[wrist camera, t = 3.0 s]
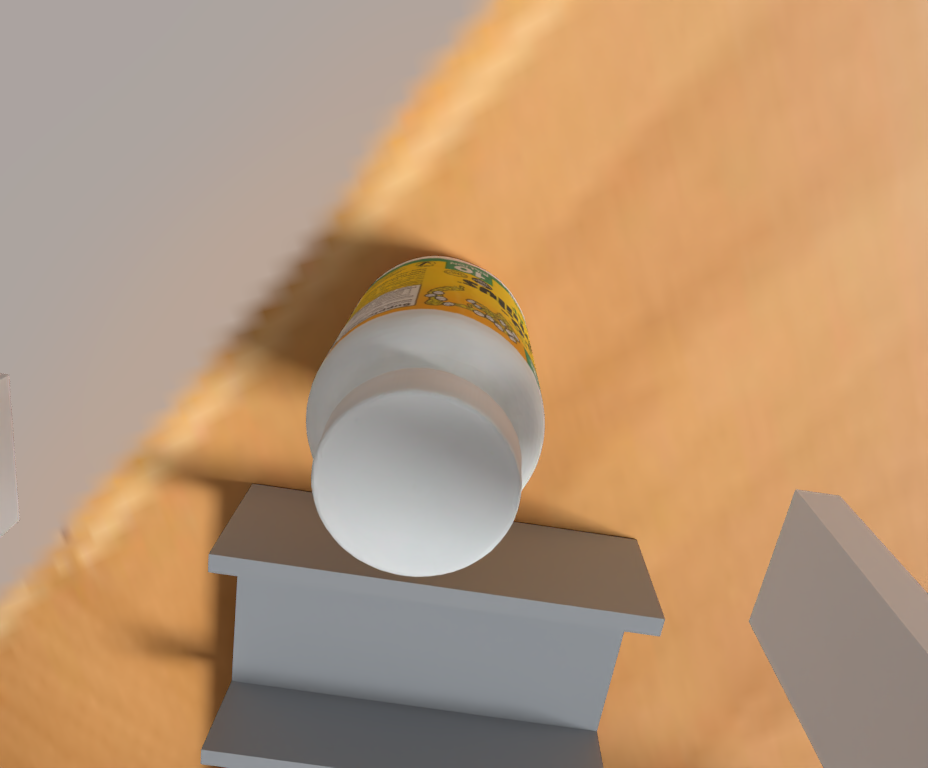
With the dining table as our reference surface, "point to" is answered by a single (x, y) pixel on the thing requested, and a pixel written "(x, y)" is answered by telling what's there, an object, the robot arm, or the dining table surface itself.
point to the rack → (419, 647)
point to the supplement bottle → (426, 419)
